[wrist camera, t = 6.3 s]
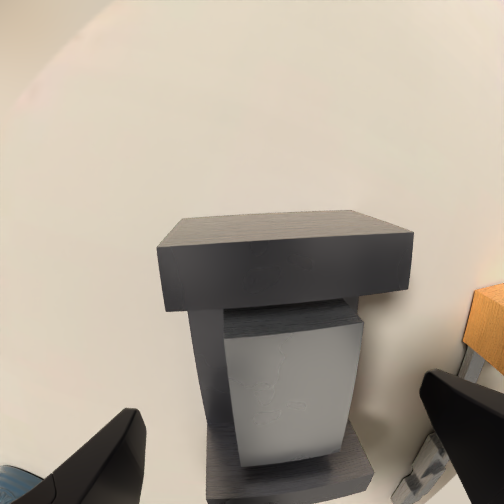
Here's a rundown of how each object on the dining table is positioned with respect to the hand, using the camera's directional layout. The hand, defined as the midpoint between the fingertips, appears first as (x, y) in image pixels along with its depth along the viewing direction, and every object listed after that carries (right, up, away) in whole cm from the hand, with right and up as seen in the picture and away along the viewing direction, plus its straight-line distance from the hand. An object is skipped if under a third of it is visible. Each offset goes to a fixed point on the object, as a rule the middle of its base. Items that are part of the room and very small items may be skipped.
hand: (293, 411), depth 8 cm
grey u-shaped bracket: (0, +1, +4) cm, 4 cm away
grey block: (0, +1, +3) cm, 3 cm away
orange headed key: (+12, -7, +7) cm, 16 cm away
